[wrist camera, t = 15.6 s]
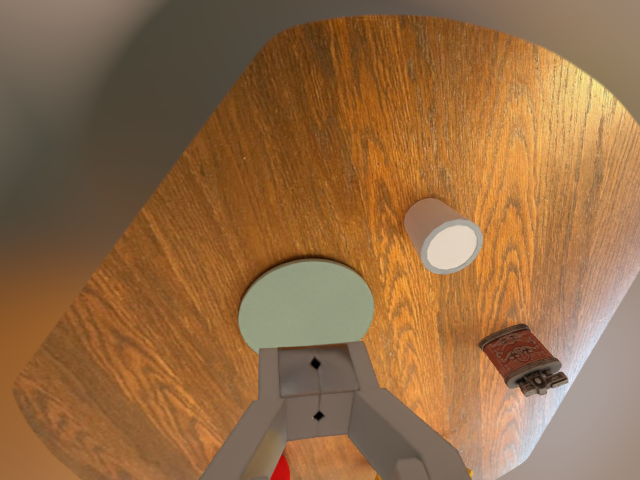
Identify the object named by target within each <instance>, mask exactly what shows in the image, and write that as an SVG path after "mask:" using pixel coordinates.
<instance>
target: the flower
mask: <svg viewBox="0 0 640 480" xmlns="http://www.w3.org/2000/svg"><path fill="white" fill-rule="evenodd" d="M270 480H290V470H289V466H288V463H287V461H286V458H285V457H284V456H283V455H282V454H281V457H280V459H279V461H278V463H277V465H276V467H275V469H274V472H273V474H272V476H271V478H270Z"/></svg>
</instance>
